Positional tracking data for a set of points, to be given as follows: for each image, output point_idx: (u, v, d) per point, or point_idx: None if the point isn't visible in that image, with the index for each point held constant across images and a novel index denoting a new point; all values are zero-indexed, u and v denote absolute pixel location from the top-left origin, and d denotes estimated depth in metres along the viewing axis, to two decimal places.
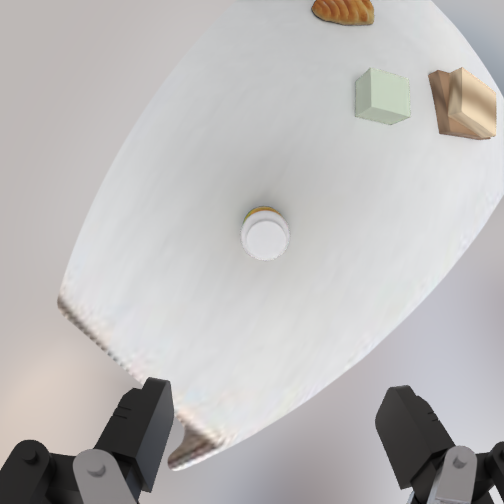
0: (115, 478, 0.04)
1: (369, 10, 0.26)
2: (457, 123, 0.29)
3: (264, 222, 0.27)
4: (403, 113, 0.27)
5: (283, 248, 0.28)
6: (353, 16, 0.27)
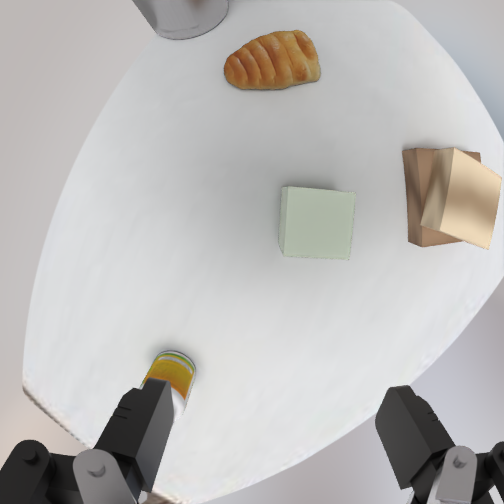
0: (115, 478, 0.04)
1: (310, 60, 0.21)
2: (435, 231, 0.24)
3: None
4: (337, 256, 0.22)
5: None
6: (282, 78, 0.22)
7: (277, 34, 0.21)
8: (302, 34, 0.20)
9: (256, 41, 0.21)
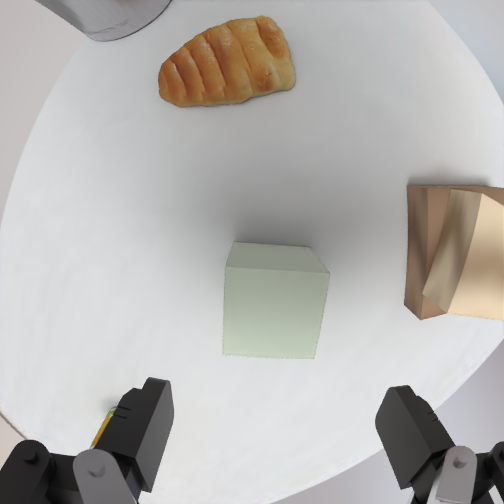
0: (115, 478, 0.04)
1: (278, 60, 0.14)
2: None
3: None
4: (297, 355, 0.16)
5: None
6: (235, 89, 0.15)
7: (231, 24, 0.14)
8: (268, 21, 0.13)
9: (201, 36, 0.14)
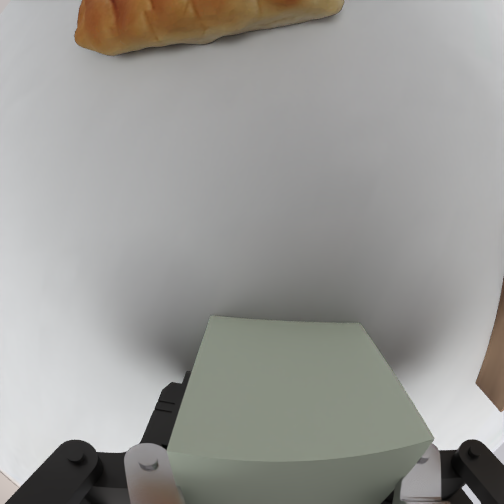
0: (171, 470, 0.05)
1: None
2: None
3: None
4: None
5: None
6: None
7: None
8: None
9: None
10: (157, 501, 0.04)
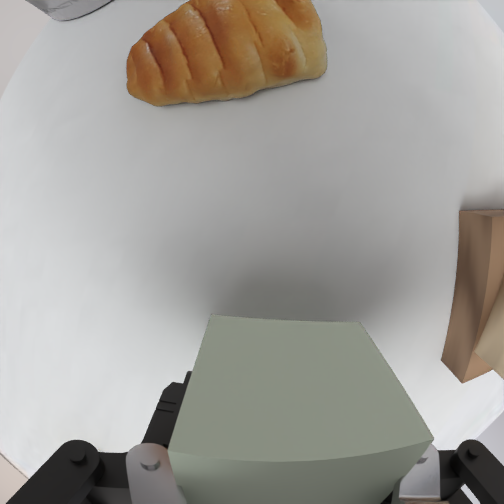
0: (172, 470, 0.05)
1: (304, 31, 0.08)
2: None
3: None
4: None
5: None
6: (237, 74, 0.09)
7: None
8: None
9: (187, 5, 0.09)
10: (159, 501, 0.04)
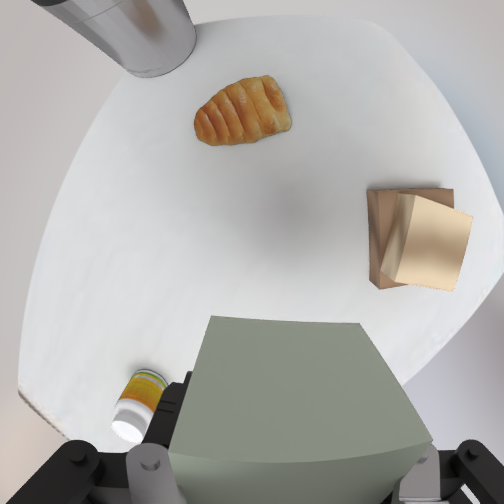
0: None
1: (279, 113, 0.23)
2: None
3: (120, 421, 0.24)
4: None
5: (141, 438, 0.24)
6: (250, 134, 0.24)
7: (245, 84, 0.23)
8: (270, 82, 0.22)
9: (224, 93, 0.24)
10: (158, 501, 0.04)
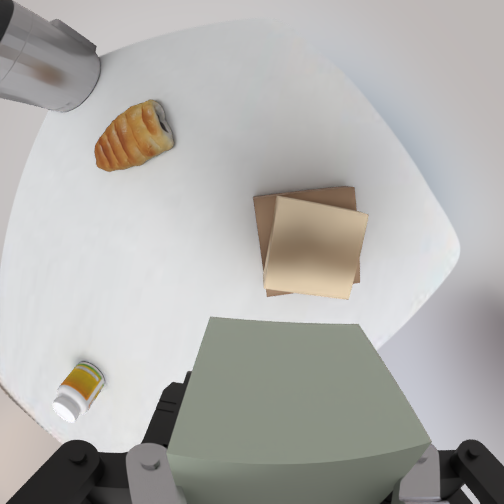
0: None
1: (154, 136, 0.25)
2: None
3: (56, 402, 0.26)
4: None
5: (74, 419, 0.27)
6: (133, 159, 0.26)
7: (128, 113, 0.24)
8: (147, 107, 0.24)
9: (113, 124, 0.25)
10: (158, 501, 0.04)
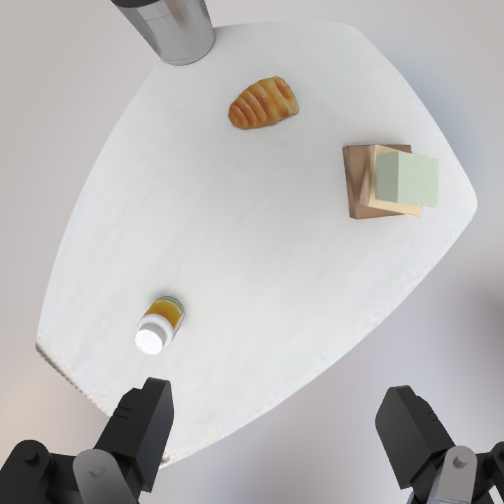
0: (115, 478, 0.04)
1: (289, 101, 0.33)
2: (368, 207, 0.36)
3: (144, 330, 0.33)
4: (429, 204, 0.26)
5: (160, 348, 0.34)
6: (272, 118, 0.34)
7: (263, 84, 0.32)
8: (281, 81, 0.32)
9: (248, 91, 0.33)
10: None
